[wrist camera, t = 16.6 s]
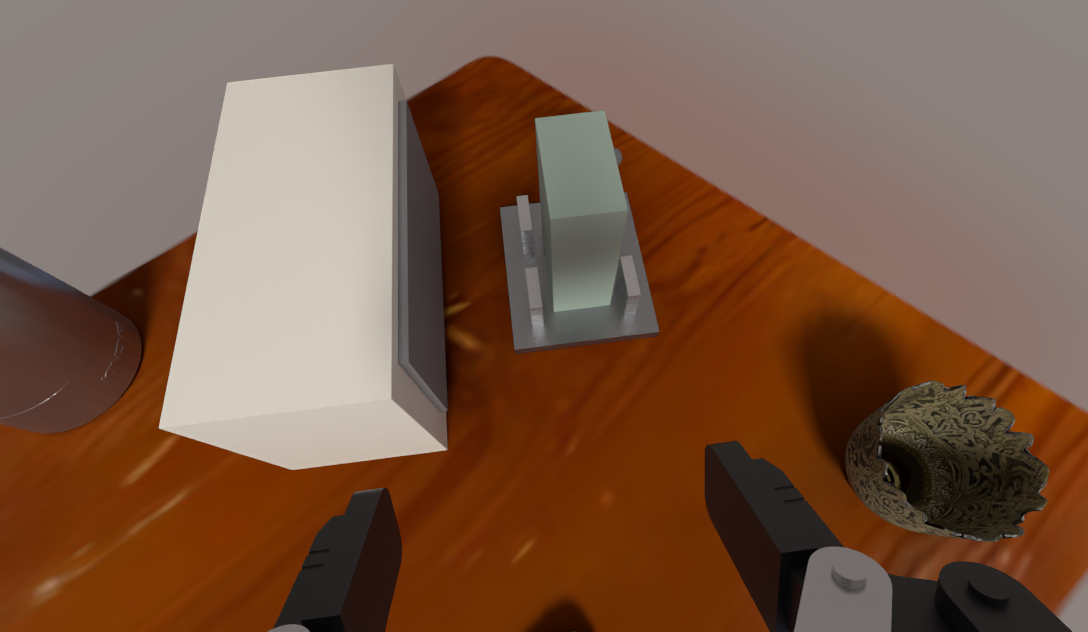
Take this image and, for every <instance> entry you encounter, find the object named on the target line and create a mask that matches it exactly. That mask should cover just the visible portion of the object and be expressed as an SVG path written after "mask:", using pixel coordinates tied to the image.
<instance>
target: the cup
mask: <svg viewBox="0 0 1088 632" xmlns="http://www.w3.org/2000/svg"><path fill="white" fill-rule="evenodd" d="M965 392H966V386H965V385H959V386H953V387H950V388H947V387H945V386H943V384H942V383H940V382H937V381H928V382H924V383H922V384H919V385H915V386H913V387H911V388H910V387H907V388H905V389H903V390H902V391H901V392H899V393H898V394H897V395H896V396H895V397H893V398H892V399H891V400H889V401H888V402H886V403H885V404H884V405H882V406H881V407H880V408H878V409H877V410H876V411H874V412H873V413H872V414H871V415H869V416H868V417H867V418H866V419H865V420H863V421H862V422H861V423H860V425H859V426H858V427H857V428H856V429H855V431H854V432H853V434H852V435H851V437H850V439H849V441H848V444H847V447H846V452H845V467H846V474H847V479H848V482H849V484H850V486H851V488H852V489H853V491H854V492H855V493H856V494H857V496H858V497H859V498H860V500H861V501H862V502H863V503H864V504H865V505H866V506H867V507H868V508H869V509H870V510H871V511H873V512H874V513H875V514H877V515H878V516H879V517H881V518H883V519H884V520H886V521H888V522H890V523H892V524H894V525H897V526H899V527H902V528H905V529H908V530H911V531H915V532H920V533H926V534H931V535H938V536H946V537H954V538H963V539H971V540H976V541H982V542H995V541H998V540H1000V539H1002V538H1014V537H1019V536H1022V535H1024V533H1025V532H1024V531H1023V528H1021V527H1018V526H1016V525H1017V524H1019V523H1022V522H1023V521H1024V516H1025V514H1026V513H1028V512H1032V511H1041V510H1042V509H1043V508H1044V507H1045V505H1046V504H1047V499H1046V498H1045V497H1043V496H1042V495H1040V494H1039V493H1040V491H1041V490H1042V489H1043V488H1044V487H1045V486H1046V484H1047V480H1048V475H1049V468H1048V467H1047V465H1045V464H1044V463H1043V462H1042V461H1041V460H1039V459H1038V458H1037V457H1034V456H1033V455H1032V454H1031V453H1030V452H1029V451H1028V448H1027V447H1028V446H1030V448H1031V446H1032V443H1033V439H1034V437H1033V435H1031V434H1029V433H1021V432H1013V431H1012V432H1011V431H1010V428H1011V427H1012V425H1013V423H1014V421H1015V418H1014V415H1013V413H1011V412H1010V411H1009V410H1006V409H1004V408H1002V407H1000V408H995V407H996V405H995V404H996V400H995V399H993V398H987V397H976V396H974V395H972V396H967V397H965V394H966V393H965ZM1008 431H1009V432H1008ZM1026 448H1027V450H1026ZM886 478H887V480H886Z"/></svg>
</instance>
